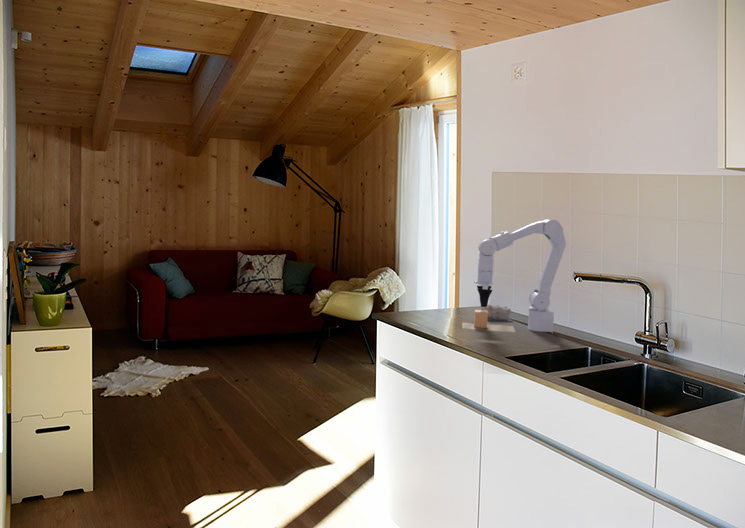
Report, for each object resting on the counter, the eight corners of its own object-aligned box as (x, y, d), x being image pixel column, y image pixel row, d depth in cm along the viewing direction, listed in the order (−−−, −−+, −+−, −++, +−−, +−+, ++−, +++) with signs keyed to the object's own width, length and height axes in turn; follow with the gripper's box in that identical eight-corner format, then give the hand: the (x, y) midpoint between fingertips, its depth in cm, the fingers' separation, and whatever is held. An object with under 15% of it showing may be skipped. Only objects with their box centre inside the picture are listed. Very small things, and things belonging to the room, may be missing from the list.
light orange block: (486, 325, 254) (487, 310, 253) (486, 327, 249) (487, 312, 248) (474, 324, 254) (474, 309, 254) (474, 327, 250) (475, 311, 249)
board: (513, 328, 255) (513, 317, 254) (515, 335, 243) (516, 323, 243) (462, 325, 258) (462, 314, 257) (462, 331, 246) (462, 319, 245)
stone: (511, 322, 268) (513, 306, 267) (485, 322, 265) (486, 306, 264) (503, 319, 276) (504, 303, 275) (477, 319, 273) (478, 303, 272)
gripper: (474, 268, 257) (472, 301, 259) (475, 272, 243) (473, 307, 244) (492, 269, 256) (490, 302, 258) (494, 273, 242) (492, 308, 243)
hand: (483, 305), depth 251 cm, fingers open, 7 cm apart
